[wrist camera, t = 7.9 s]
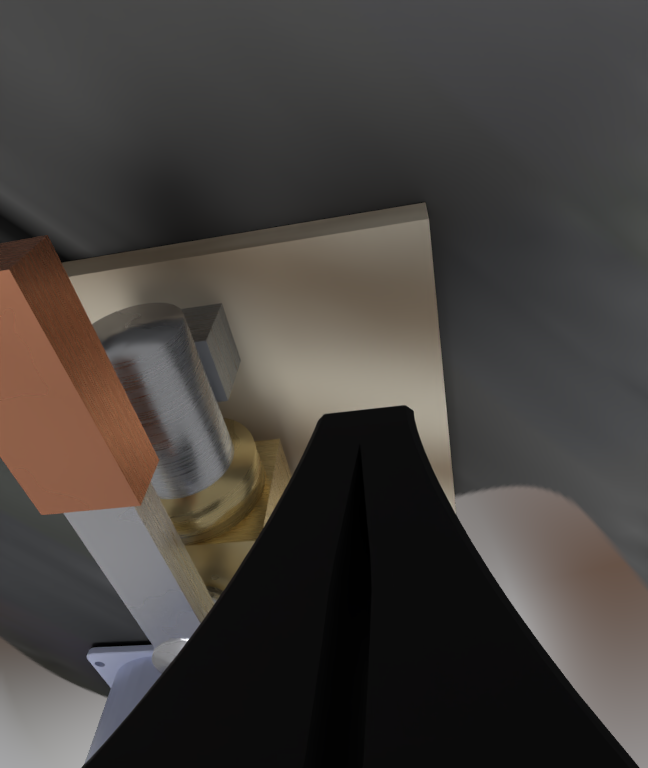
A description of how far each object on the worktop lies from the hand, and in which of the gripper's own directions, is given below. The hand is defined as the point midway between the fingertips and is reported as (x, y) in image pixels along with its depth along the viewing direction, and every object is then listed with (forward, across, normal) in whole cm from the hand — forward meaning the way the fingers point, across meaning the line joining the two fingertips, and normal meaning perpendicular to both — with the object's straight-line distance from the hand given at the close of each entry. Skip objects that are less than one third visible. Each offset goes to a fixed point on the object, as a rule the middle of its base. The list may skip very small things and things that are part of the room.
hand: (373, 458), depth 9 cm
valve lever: (+2, +6, +3) cm, 7 cm away
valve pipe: (+8, +6, +8) cm, 13 cm away
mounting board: (+9, +5, +7) cm, 13 cm away
